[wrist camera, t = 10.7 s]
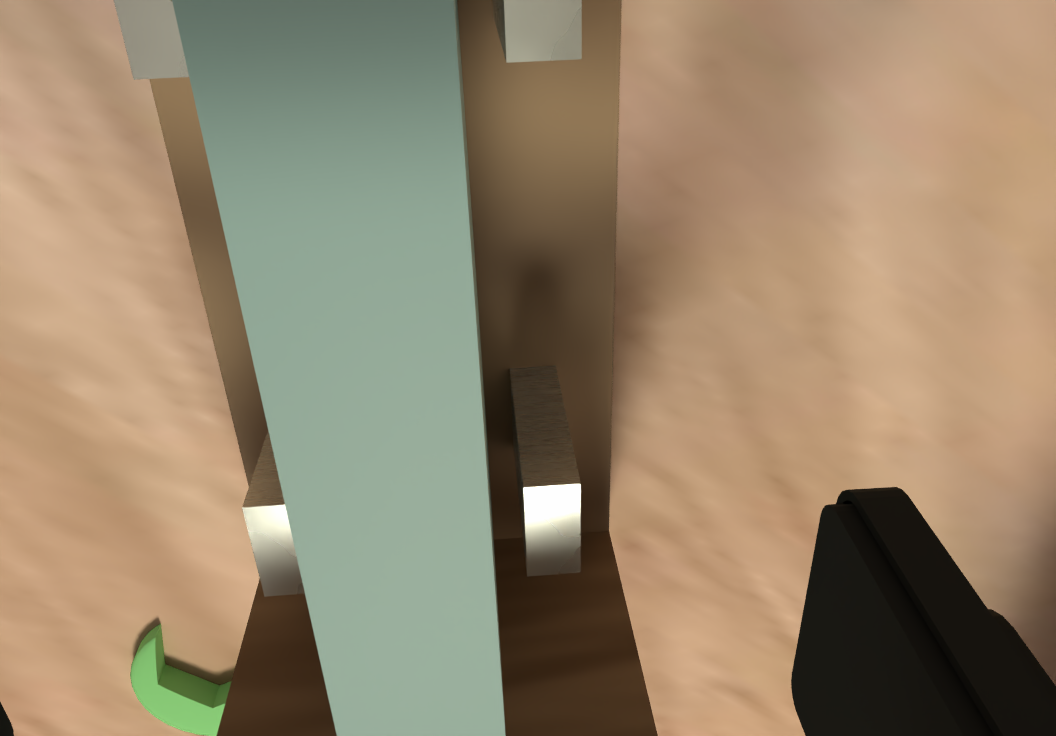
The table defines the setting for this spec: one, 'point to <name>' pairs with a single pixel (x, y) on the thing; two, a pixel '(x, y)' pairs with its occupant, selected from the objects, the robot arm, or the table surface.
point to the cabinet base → (507, 362)
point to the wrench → (175, 690)
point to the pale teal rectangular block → (363, 336)
